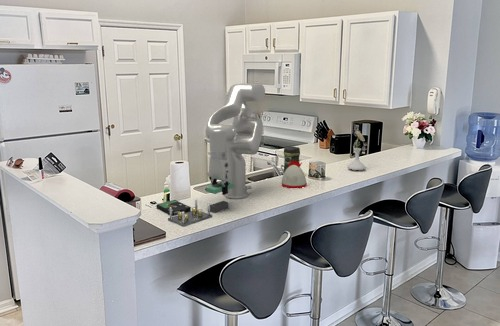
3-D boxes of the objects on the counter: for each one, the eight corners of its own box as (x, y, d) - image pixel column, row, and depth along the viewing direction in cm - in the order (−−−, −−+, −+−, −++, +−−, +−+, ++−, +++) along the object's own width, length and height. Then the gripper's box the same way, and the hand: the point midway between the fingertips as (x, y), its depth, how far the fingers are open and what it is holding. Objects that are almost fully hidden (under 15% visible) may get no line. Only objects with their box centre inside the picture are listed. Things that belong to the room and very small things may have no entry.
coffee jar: (301, 176, 265) (302, 146, 261) (293, 179, 259) (293, 148, 255) (289, 174, 271) (290, 144, 267) (281, 176, 266) (281, 146, 262)
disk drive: (191, 212, 202) (175, 204, 213) (191, 207, 201) (175, 199, 212) (171, 217, 196) (155, 209, 207) (171, 211, 195) (155, 203, 206)
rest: (223, 206, 208) (223, 200, 208) (228, 208, 206) (228, 202, 205) (209, 211, 202) (209, 205, 201) (214, 213, 200) (214, 206, 199)
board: (224, 184, 209) (224, 179, 209) (233, 187, 205) (233, 182, 205) (205, 191, 201) (205, 186, 200) (214, 194, 197) (214, 188, 196)
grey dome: (303, 189, 237) (304, 162, 234) (278, 187, 242) (279, 160, 238) (308, 183, 250) (309, 157, 247) (285, 181, 254) (285, 156, 251)
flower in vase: (366, 172, 276) (368, 132, 271) (347, 171, 278) (349, 132, 273) (364, 167, 289) (366, 129, 283) (346, 167, 290) (348, 129, 285)
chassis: (195, 211, 201) (195, 199, 200) (212, 217, 194) (212, 204, 193) (167, 220, 190) (167, 207, 188) (184, 226, 183) (183, 212, 181)
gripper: (238, 156, 196) (239, 194, 201) (211, 150, 207) (213, 186, 212) (226, 159, 190) (227, 198, 195) (199, 153, 202) (201, 190, 206)
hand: (220, 192), depth 204 cm, fingers closed on board, 6 cm apart
